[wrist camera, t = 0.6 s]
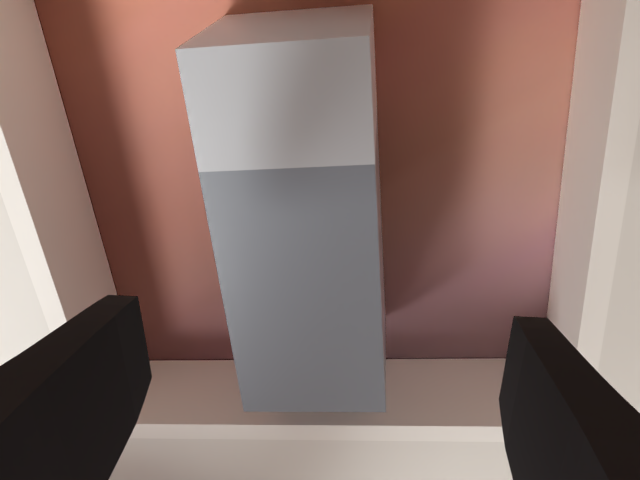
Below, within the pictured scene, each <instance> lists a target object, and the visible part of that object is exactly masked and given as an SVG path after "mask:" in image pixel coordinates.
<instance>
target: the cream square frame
mask: <svg viewBox="0 0 640 480" xmlns="http://www.w3.org/2000/svg"><path fill="white" fill-rule="evenodd" d="M107 295H117V292H116V288H115V285H114V281H113V278H112V274H111V271H110V267H109V264H108V260H107V257H106V253H105V250H104V246H103V243H102V239H101V236H100V232H99V229H98V225H97V222H96V218H95V214H94V211H93V207H92V204H91V200H90V197H89V193H88V190H87V186H86V183H85V179H84V176H83V172H82V169H81V165H80V162H79V158H78V155H77V151H76V148H75V144H74V141H73V137H72V133H71V130H70V126H69V123H68V119H67V116H66V112H65V109H64V105H63V102H62V98H61V95H60V91H59V88H58V84H57V81H56V77H55V74H54V70H53V67H52V63H51V59H50V56H49V52H48V49H47V45H46V42H45V38H44V35H43V31H42V28H41V24H40V21H39V17H38V14H37V10H36V7H35V3H34V0H0V366H1V365H2V364H4V363H5V362H7V361H9V360H10V359H12V358H13V357H15V356H17V355H18V354H20V353H21V352H23V351H24V350H26V349H27V348H29V347H30V346H32V345H33V344H35V343H36V342H38V341H39V340H41V339H42V338H44V337H45V336H47V335H48V334H50V333H51V332H52V331H54V330H55V329H57V328H58V327H60V326H61V325H63V324H64V323H66V322H67V321H69V320H70V319H71V318H73V317H74V316H76V315H77V314H79V313H80V312H82V311H83V310H85V309H86V308H88V307H89V306H91V305H92V304H94V303H95V302H97V301H98V300H100V299H102V298H103V297H105V296H107ZM547 318H548V319H549V320H550V321H551V322H552V323H553V324H554V325H555V326H556V327H557V329H558V330H559V331H560V332H561V333H562V334H563V335H564V336H565V337H566V338H567V339H568V341H569V342H570V343H571V344H572V345H573V346H574V347H575V348H576V349H577V350H578V351H579V352H580V354H581V355H582V356H583V357H584V358H585V359H586V360H587V361H588V362H589V363H590V364H591V365H592V366H593V367H594V368H595V369H596V370H597V372H598V373H599V374H600V375H601V376H602V377H603V378H604V379H605V380H606V381H607V382H608V383H609V384H610V385H611V386H612V387H613V388H614V389H615V390H616V391H617V392H618V393H619V394H620V395H621V396H622V397H623V398H624V399H625V400H626V401H628V402H629V403H630V404H631V405H632V406H633V407H634V408H635V409H636V410H637V411H638V412H639V413H640V0H581V7H580V16H579V26H578V35H577V44H576V53H575V62H574V71H573V81H572V90H571V99H570V108H569V117H568V126H567V135H566V145H565V154H564V163H563V172H562V181H561V190H560V200H559V209H558V218H557V227H556V236H555V245H554V254H553V264H552V273H551V282H550V291H549V300H548V309H547ZM149 362H150V368H151V373H152V379H151V382H150V385H149V388H148V391H147V394H146V398H145V401H144V404H143V406H142V409H141V412H140V415H139V418H138V421H137V423H136V425H135V427H134V429H133V432H132V434H131V436H130V438H129V440H128V442H127V444H126V446H125V448H124V450H123V452H122V454H121V456H120V458H119V460H118V462H117V464H116V466H115V468H114V470H113V472H112V474H111V476H110V478H109V480H513V478H512V474H511V470H510V466H509V462H508V458H507V454H506V450H505V444H504V437H503V430H502V423H501V414H500V406H499V395H500V389H501V384H502V378H503V373H504V367H505V362H506V358H489V359H386V412H244V410H243V405H242V400H241V394H240V389H239V384H238V379H237V373H236V368H235V363H234V360H156V361H149Z"/></svg>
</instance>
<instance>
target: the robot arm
mask: <svg viewBox="0 0 640 480" xmlns="http://www.w3.org/2000/svg"><path fill="white" fill-rule="evenodd" d="M151 379H152V373H151V368H150V362H149V357H148V351H147V345H146V340H145V334H144V329H143V323H142V317H141V312H140V306H139V301H138V296H120V295H107V296H105V297H103V298H102V299H100V300H98V301H97V302H95V303H94V304H92V305H91V306H89V307H88V308H86V309H85V310H83V311H82V312H80V313H79V314H77V315H76V316H74V317H73V318H71V319H70V320H69V321H67V322H66V323H64V324H63V325H61V326H60V327H58V328H57V329H55V330H54V331H52V332H51V333H50V334H48V335H47V336H45V337H44V338H42V339H41V340H39V341H38V342H36V343H35V344H33V345H32V346H30V347H29V348H27V349H26V350H24V351H23V352H21V353H20V354H18V355H17V356H15V357H13V358H12V359H10V360H9V361H7V362H5V363H4V364H2V365H1V366H0V480H109V478H110V476H111V474H112V472H113V470H114V468H115V466H116V464H117V462H118V460H119V458H120V456H121V454H122V452H123V450H124V448H125V446H126V444H127V442H128V440H129V438H130V436H131V434H132V432H133V429H134V427H135V425H136V423H137V421H138V418H139V415H140V412H141V409H142V406H143V404H144V401H145V398H146V394H147V391H148V388H149V385H150V382H151ZM499 406H500V414H501V423H502V430H503V437H504V444H505V450H506V454H507V458H508V462H509V466H510V470H511V474H512V478H513V480H640V413H639V412H638V411H637V410H636V409H635V408H634V407H633V406H632V405H631V404H630V403H629V402H628V401H626V400H625V399H624V398H623V397H622V396H621V395H620V394H619V393H618V392H617V391H616V390H615V389H614V388H613V387H612V386H611V385H610V384H609V383H608V382H607V381H606V380H605V379H604V378H603V377H602V376H601V375H600V374H599V373H598V372H597V370H596V369H595V368H594V367H593V366H592V365H591V364H590V363H589V362H588V361H587V360H586V359H585V358H584V357H583V356H582V355H581V354H580V352H579V351H578V350H577V349H576V348H575V347H574V346H573V345H572V344H571V343H570V342H569V341H568V339H567V338H566V337H565V336H564V335H563V334H562V333H561V332H560V331H559V330H558V329H557V327H556V326H555V325H554V324H553V323H552V322H551V321H550V320H549V319H548V318H538V317H519V316H514V318H513V323H512V329H511V334H510V340H509V345H508V351H507V356H506V362H505V367H504V373H503V378H502V384H501V389H500V395H499Z"/></svg>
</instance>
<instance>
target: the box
mask: <svg viewBox="0 0 640 480" xmlns="http://www.w3.org/2000/svg"><path fill="white" fill-rule="evenodd" d="M175 51H176V56H177V61H178V67H179V72H180V77H181V82H182V88H183V93H184V98H185V104H186V109H187V114H188V120H189V125H190V130H191V135H192V141H193V146H194V151H195V157H196V162H197V167H198V172H199V178H200V183H201V188H202V194H203V199H204V204H205V209H206V215H207V220H208V225H209V231H210V236H211V241H212V246H213V252H214V257H215V262H216V268H217V273H218V278H219V283H220V289H221V294H222V299H223V305H224V310H225V315H226V320H227V326H228V331H229V336H230V342H231V347H232V352H233V357H234V363H235V368H236V373H237V379H238V384H239V389H240V394H241V400H242V405H243V410H244V412H386V314H385V289H384V264H383V239H382V215H381V190H380V165H379V140H378V116H377V91H376V66H375V41H374V17H373V4H365V5H351V6H338V7H325V8H312V9H299V10H285V11H272V12H259V13H246V14H233V15H224V16H223V17H222V18H220V19H219V20H217V21H216V22H214V23H213V24H211V25H210V26H208V27H207V28H205V29H204V30H203V31H201V32H200V33H198V34H197V35H195V36H194V37H192V38H191V39H189V40H188V41H186V42H185V43H183V44H182V45H181V46H179V47H178V48H176V49H175Z"/></svg>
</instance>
